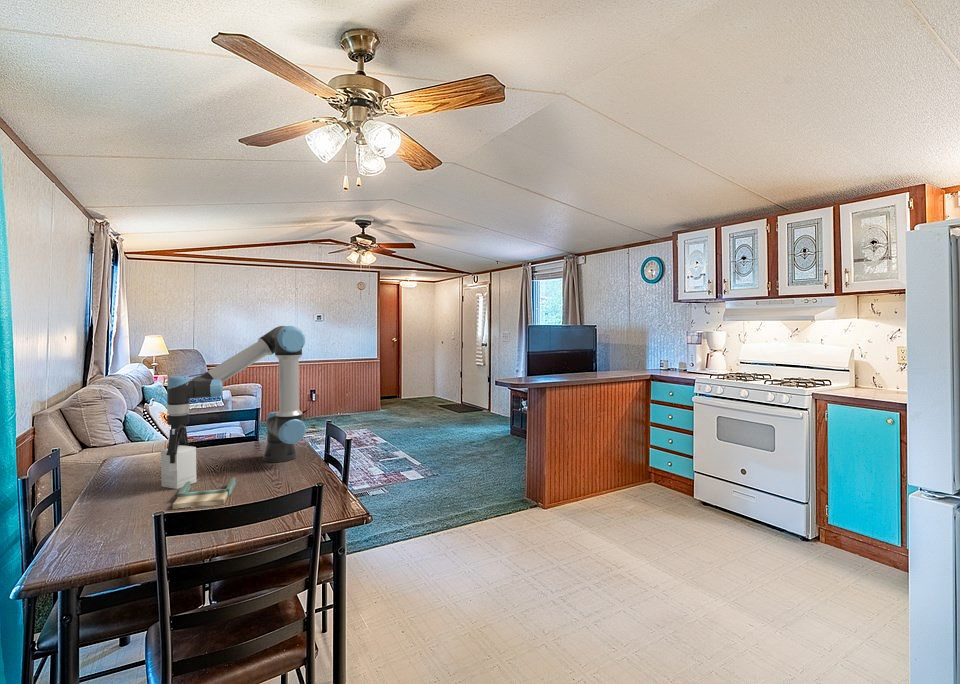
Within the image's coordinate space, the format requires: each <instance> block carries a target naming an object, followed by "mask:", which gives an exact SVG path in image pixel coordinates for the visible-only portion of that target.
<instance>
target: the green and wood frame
mask: <svg viewBox="0 0 960 684" xmlns="http://www.w3.org/2000/svg"><path fill="white" fill-rule="evenodd" d="M236 479H237V478H236V476H235V477H233V476H232V477H231V479H230V481H229V483H228V484H227V486H226V488H223V489H222V488H221V489H212V490H200V491H190V490H191V486H192V484H191V481H188V482H186V484H185V485H184V486H183V487H181V488H180V489H179V491H178V492H177V493H176V499H175V501H174V502H173V503H172V510H173V509H175V510H179V509H178V508H184V507H191V508H190V509H193V508H205V507H211V506H221V505H225V502H226V501H227V499H228V497H231V495H232V493H233V490H234V489H235V487H236V484H237V483H236Z"/></svg>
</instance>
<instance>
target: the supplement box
mask: <svg viewBox="0 0 960 684" xmlns="http://www.w3.org/2000/svg"><path fill="white" fill-rule="evenodd" d="M167 451H168V447H167V448H164V449H161V450H160V468H161V469H160V470H161V472H160V473H161V477H160V478H161V487H163V488H167V489H168V488H170V489H173V490H174V489H175V490H178V489H181V488H182V487H183V486H184V485H185V484H186V482H188V481H191V485H192V484H195V483H197V447H196V446H191V445H190V446H189V445H186V446H183V445H179V444H178V449H177V471H170V472H169V455H166V453H167Z"/></svg>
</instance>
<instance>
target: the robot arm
mask: <svg viewBox="0 0 960 684" xmlns="http://www.w3.org/2000/svg"><path fill="white" fill-rule="evenodd" d="M305 344H306V335H305V334H304V332H303V331H302V330H301V329H300V328H298V327H295V326H293V325H279V326H276V327H274V328H272V329H271V330H270V331H268V332H266V333H265V334H264V335H262V336H260V337H259V338H258V341H257V342H255V343H253V344H252V345H249V346H248V347H246V348H245V349H243V350H241V351H239V352H238V353H236V354H235V355H234V354H233V356H231V357H229V358H227V359H226V360H224V361H222V362H221V363H219V364H218V365H216V366H215V367H212V368H211V369H209V370H208V371H205V372H204V373H202V374H201V375H198V376H194V377H193V378H192V379H190V376H188V375H171V376H169V377H168V379H167V383H166V384H167V385H166V386H167V387H166V394H167V395H166V402H167V403H166V404H167V405H166V406H165V409H166V412H167V413H166V414H167V416H166V424H167V425H168V426H172V428H171V429H169V439H168V445H167V448H168V451H167V453H166V455H169V472H170V471H177V449H178V446H179V445H183V446H189V445H190V442H189V438H188V432H187V431H188V430H187V424H189V423H190V414H189V413H190V399H206V398H207V399H209V398H211V399H213V398H218V397H221V396H222V395H223V391H224V390H223V389H224V387H223V385H224V384H223V382H224V383H225V381H227V380H228V379H230V378H232V377H234V376H236V375H237V374H239V373H240V372H241V371H244V370H245V369H246V368H248V367H251V365H253V364H255V363H257V362H258V361H260V360H261V359H263V358H265V357H266V356H272V355H275V357H276V358H277V359H278V403H279V404H278V410H277V411H271V412H268V413H267V415H266V446H265V450H264V453H263V455H262V457H263V461H264V462H267V463H284V462H288V461H292V460H295V459H296V458H297V457H298V452H297V449H296V446H295V444H297V443H298V442H300V441H301V440H302V439H303V438H304V437H305V436H306V432H307V427H306V423H305V422H304V421H303V420H304V419H303V411H301V410H300V383H299V379H300V376H299V375H300V371H299V369H300V367H299V366H300V363H299V359H300V358H301V357H302V356H303V348H304V346H305Z"/></svg>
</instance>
